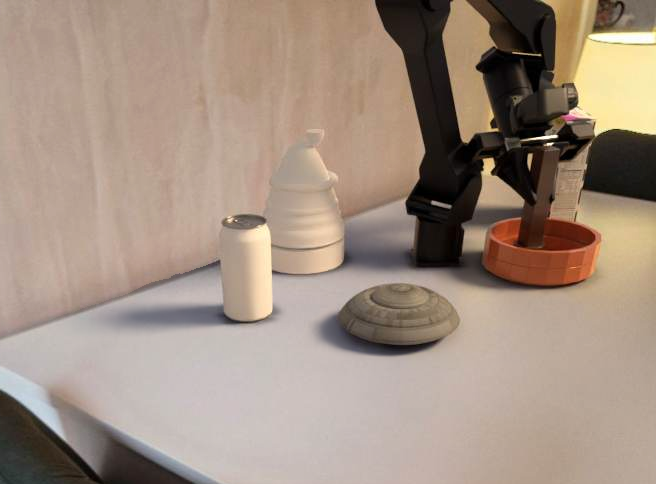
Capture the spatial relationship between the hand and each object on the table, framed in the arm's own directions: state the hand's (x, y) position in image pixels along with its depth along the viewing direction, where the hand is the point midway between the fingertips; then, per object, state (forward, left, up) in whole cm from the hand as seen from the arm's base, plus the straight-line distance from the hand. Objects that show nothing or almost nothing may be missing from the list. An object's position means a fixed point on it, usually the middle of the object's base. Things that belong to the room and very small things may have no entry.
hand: (543, 203), depth 106 cm
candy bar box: (+10, +22, -9) cm, 26 cm away
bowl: (+1, -1, -9) cm, 9 cm away
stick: (0, +1, -7) cm, 7 cm away
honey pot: (-33, +6, -9) cm, 35 cm away
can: (-41, -14, -9) cm, 44 cm away
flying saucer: (-22, -20, -9) cm, 31 cm away
